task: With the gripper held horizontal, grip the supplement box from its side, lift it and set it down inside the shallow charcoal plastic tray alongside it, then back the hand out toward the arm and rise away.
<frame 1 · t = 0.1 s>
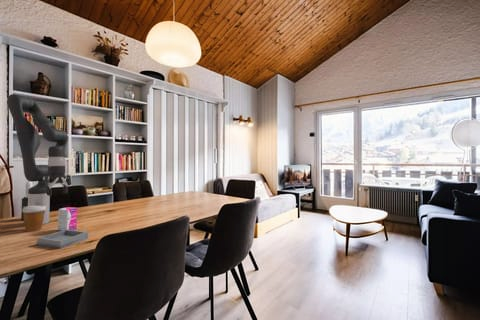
hand: (57, 194, 126), 17 cm above the table, tool pointing down, fingers open, 8 cm apart
tray: (63, 241, 103), on the table
supplement box: (67, 230, 119), on the table
disposable coffee cup: (33, 230, 118), on the table
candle: (28, 219, 137), on the table
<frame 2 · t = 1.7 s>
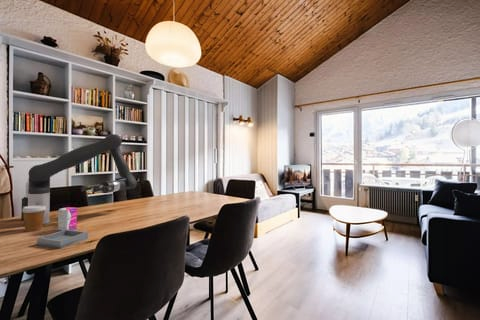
hand: (87, 189, 130), 20 cm above the table, tool horizontal, fingers open, 8 cm apart
nothing on the table moved.
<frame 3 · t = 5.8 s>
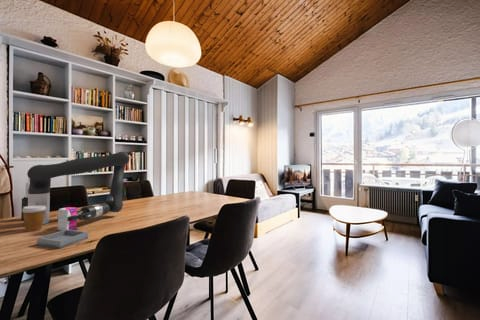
hand: (63, 218, 117), 7 cm above the table, tool horizontal, fingers closed on supplement box, 6 cm apart
supplement box: (67, 230, 119), on the table, touching gripper
everything else where it was.
when the fingers open (9 cm above the table, at t = 11.4 s): supplement box drops 1 cm, resting on tray.
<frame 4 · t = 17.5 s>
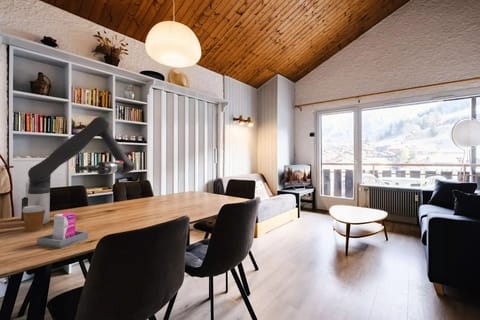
hand: (82, 168, 122), 32 cm above the table, tool horizontal, fingers open, 8 cm apart
supplement box: (64, 239, 103), point 1 cm above the table, touching tray
everything else where it was.
at the end: supplement box inside the target area on the tray (0.2 cm from its centre), point 0.8 cm above the tray's base; supplement box tilted 0°; the gripper is holding nothing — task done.
